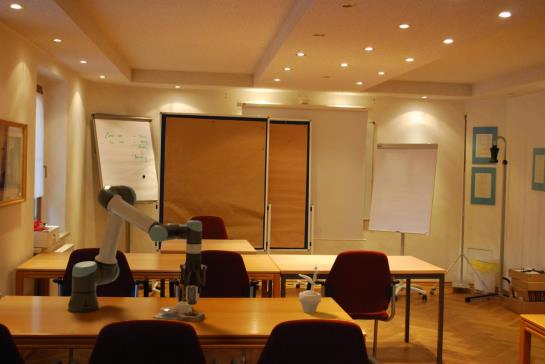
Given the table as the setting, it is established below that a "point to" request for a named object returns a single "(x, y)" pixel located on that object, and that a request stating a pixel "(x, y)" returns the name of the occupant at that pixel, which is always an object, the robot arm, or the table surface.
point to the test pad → (169, 310)
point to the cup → (183, 308)
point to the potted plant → (310, 296)
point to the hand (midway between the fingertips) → (192, 299)
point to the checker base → (166, 316)
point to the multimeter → (182, 293)
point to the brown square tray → (191, 316)
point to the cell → (192, 295)
